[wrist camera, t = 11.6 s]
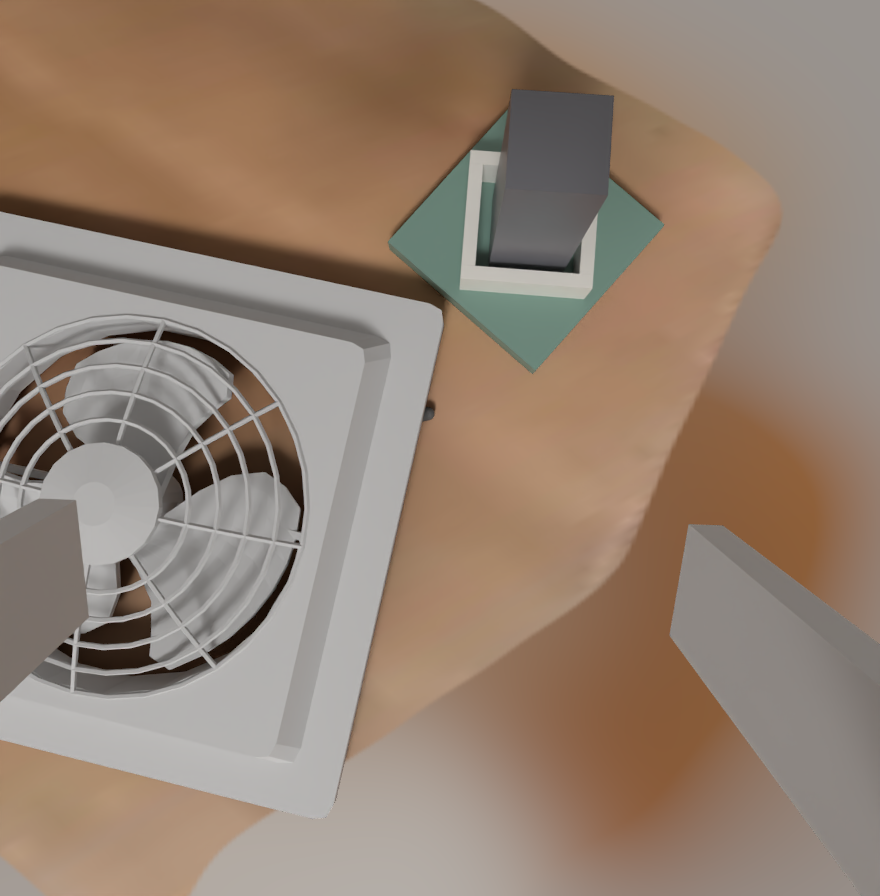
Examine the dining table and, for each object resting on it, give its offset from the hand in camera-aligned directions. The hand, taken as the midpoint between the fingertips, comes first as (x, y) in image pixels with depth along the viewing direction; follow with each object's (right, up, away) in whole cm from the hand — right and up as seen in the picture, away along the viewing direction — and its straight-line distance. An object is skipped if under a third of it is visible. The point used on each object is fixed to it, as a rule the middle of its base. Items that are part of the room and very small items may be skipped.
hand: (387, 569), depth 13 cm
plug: (+7, +16, +23) cm, 28 cm away
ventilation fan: (-16, -1, +24) cm, 29 cm away
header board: (+6, +16, +24) cm, 29 cm away
